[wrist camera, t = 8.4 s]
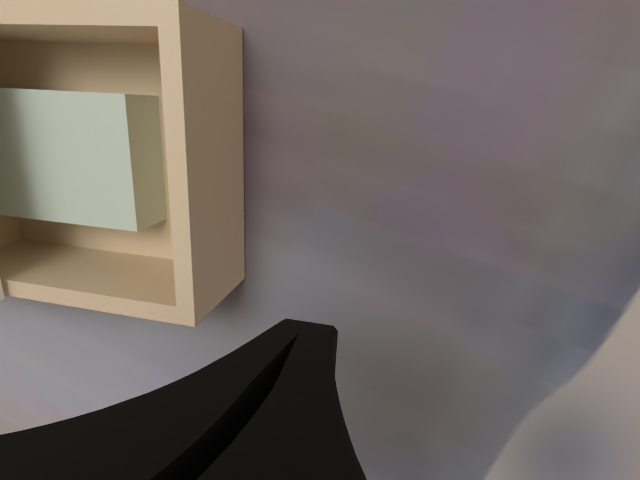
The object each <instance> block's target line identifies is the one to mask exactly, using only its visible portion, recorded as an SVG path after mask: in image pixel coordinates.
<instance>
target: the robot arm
mask: <svg viewBox="0 0 640 480" xmlns="http://www.w3.org/2000/svg"><path fill="white" fill-rule="evenodd" d="M337 335H338V331H337V330H336V328H335V327H334V326H330V325H324V324H318V323H311V322H305V321H298V320H292V319H284V320H283V321H281V322H279V323H278V324H276V325H274V326H273V327H271V328H270V329H268V330H267V331H265V332H263V333H262V334H260V335H259V336H257V337H256V338H254V339H252V340H251V341H249V342H247V343H246V344H244V345H243V346H241V347H239V348H238V349H236V350H234V351H233V352H231V353H229V354H227V355H226V356H224V357H222V358H220V359H218V360H216V361H215V362H213V363H211V364H209V365H207V366H205V367H204V368H202V369H200V370H198V371H196V372H194V373H192V374H190V375H188V376H186V377H184V378H181V379H179V380H177V381H175V382H172V383H170V384H168V385H166V386H163V387H161V388H159V389H156V390H154V391H151V392H149V393H146V394H143V395H140V396H138V397H135V398H132V399H129V400H126V401H123V402H121V403H118V404H115V405H112V406H109V407H106V408H104V409H100V410H97V411H94V412H91V413H87V414H84V415H80V416H77V417H74V418H70V419H66V420H62V421H59V422H55V423H51V424H47V425H43V426H39V427H35V428H31V429H27V430H22V431H18V432H13V433H8V434H3V435H0V480H367V479H366V477H365V475H364V472H363V470H362V468H361V466H360V463H359V461H358V459H357V456H356V454H355V451H354V448H353V445H352V443H351V440H350V437H349V434H348V431H347V428H346V424H345V421H344V418H343V414H342V410H341V406H340V402H339V397H338V392H337V387H336V381H335V364H336V349H337Z"/></svg>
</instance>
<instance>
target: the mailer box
mask: <svg viewBox="0 0 640 480" xmlns="http://www.w3.org/2000/svg"><path fill="white" fill-rule="evenodd" d="M0 278H1V283H2V288H3V293H4V295H6V296H12V297H18V298H24V299H30V300H36V301H42V302H48V303H54V304H60V305H66V306H72V307H78V308H84V309H90V310H96V311H102V312H108V313H114V314H120V315H126V316H132V317H138V318H144V319H150V320H156V321H162V322H168V323H174V324H180V325H186V326H192V327H196V326H197V325H198V324H199V323H200V322H201V321H202V320H203V319H204V318H205V317H206V316H207V315H208V314H209V313H210V312H211V311H212V310H213V309H214V308H215V307H216V306H217V305H218V304H219V303H220V302H221V301H222V300H223V299H224V298H225V297H226V296H227V295H228V294H229V293H230V292H231V291H232V290H233V289H234V288H235V287H236V286H237V285H238V284H239V283H240V282H241V281H242V280H244V279H245V257H244V148H243V38H242V28H241V27H238V26H236V25H234V24H232V23H230V22H227V21H225V20H223V19H221V18H219V17H216V16H214V15H212V14H210V13H208V12H205V11H203V10H201V9H199V8H197V7H194V6H192V5H190V4H188V3H186V2H183V1H181V0H0Z"/></svg>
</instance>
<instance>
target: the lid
mask: <svg viewBox="0 0 640 480" xmlns="http://www.w3.org/2000/svg"><path fill="white" fill-rule="evenodd" d="M4 299H5V298H4V293H3V288H2V283H1V278H0V301H2V300H4Z"/></svg>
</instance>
